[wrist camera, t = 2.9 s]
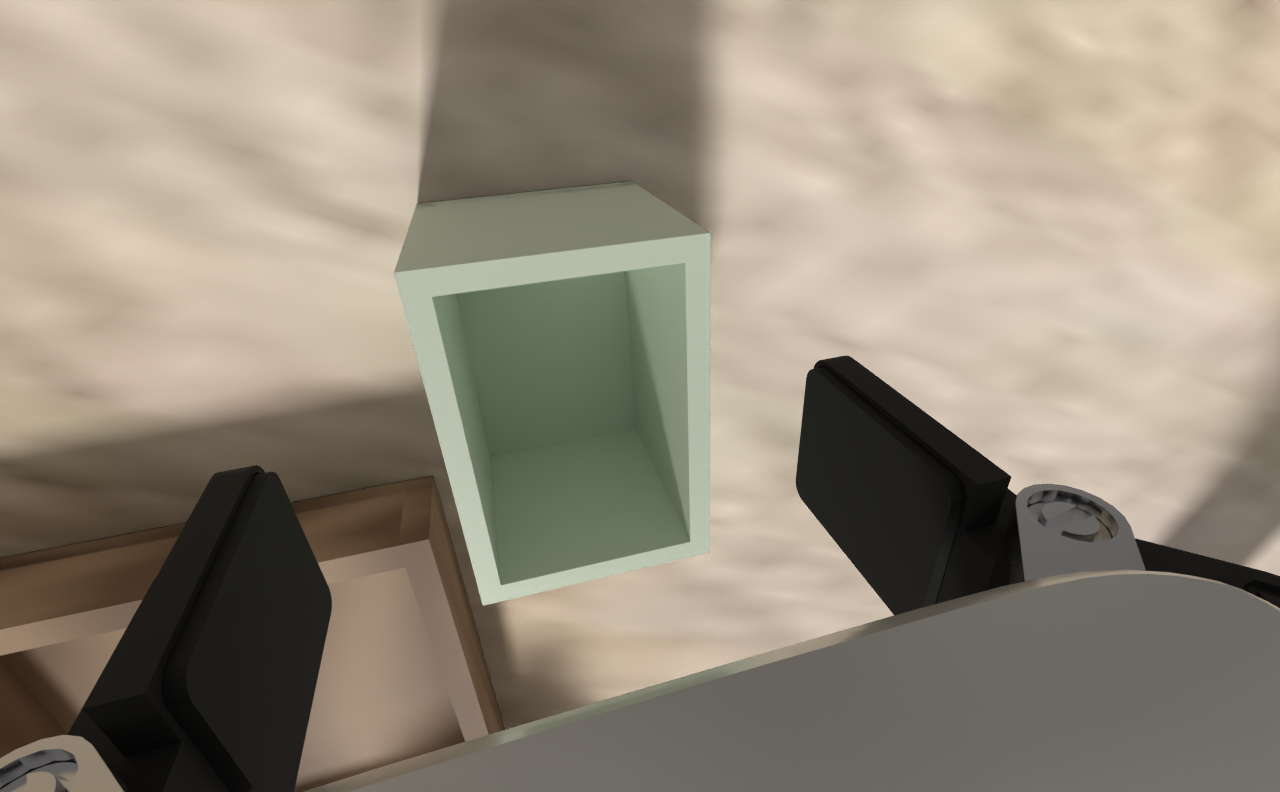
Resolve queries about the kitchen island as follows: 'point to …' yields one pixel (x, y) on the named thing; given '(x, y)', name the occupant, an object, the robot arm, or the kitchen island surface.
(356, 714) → the crate
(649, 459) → the small crate
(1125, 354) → the kitchen island surface
